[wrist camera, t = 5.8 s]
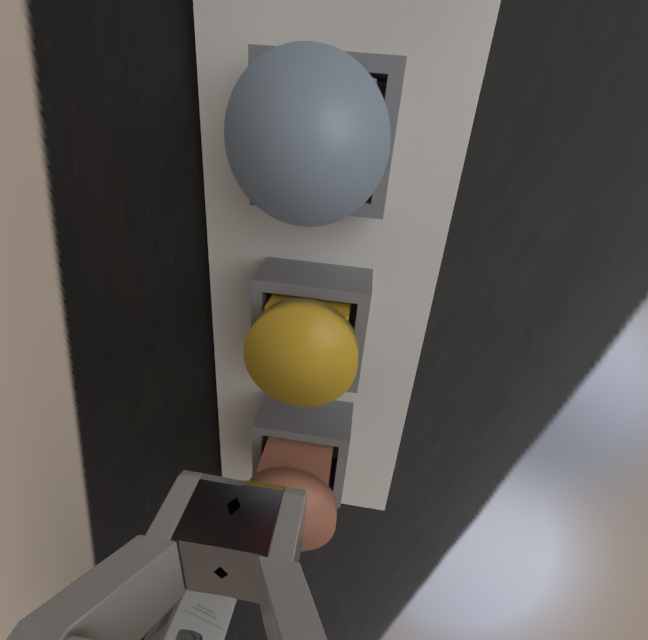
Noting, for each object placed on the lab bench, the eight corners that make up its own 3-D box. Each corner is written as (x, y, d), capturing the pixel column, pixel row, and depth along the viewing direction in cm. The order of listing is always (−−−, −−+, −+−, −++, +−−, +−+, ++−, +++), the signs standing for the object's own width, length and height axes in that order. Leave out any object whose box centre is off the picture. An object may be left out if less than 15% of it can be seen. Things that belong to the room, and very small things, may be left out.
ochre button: (271, 262, 19) (242, 301, 15) (368, 274, 18) (364, 317, 14) (270, 344, 21) (244, 398, 17) (356, 356, 20) (350, 414, 16)
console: (200, -59, 15) (142, -115, 11) (504, -42, 14) (547, -97, 10) (227, 471, 28) (205, 523, 24) (384, 497, 27) (384, 555, 23)
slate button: (266, 58, 14) (220, 34, 10) (397, 68, 13) (404, 47, 9) (265, 193, 16) (226, 218, 12) (378, 205, 16) (377, 234, 12)
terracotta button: (263, 410, 21) (236, 477, 17) (347, 423, 21) (340, 494, 17) (262, 470, 23) (238, 542, 19) (339, 482, 23) (330, 558, 19)
